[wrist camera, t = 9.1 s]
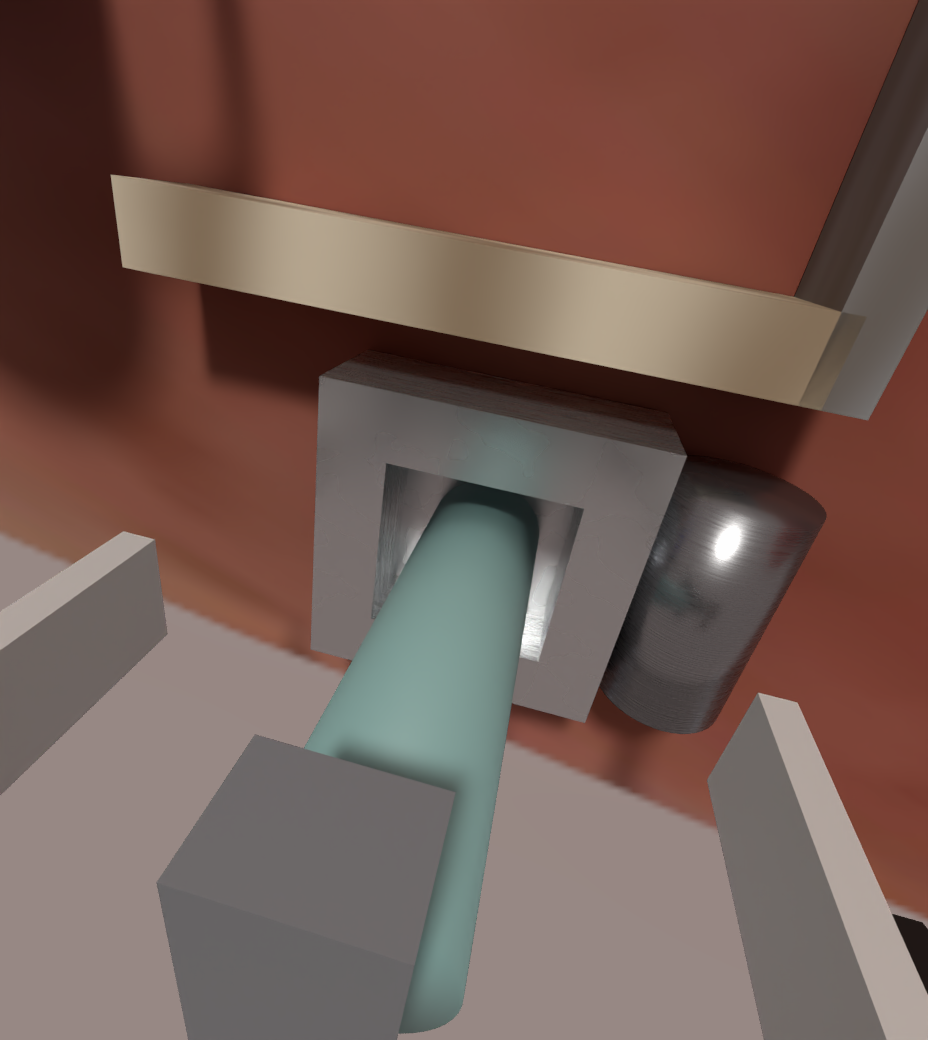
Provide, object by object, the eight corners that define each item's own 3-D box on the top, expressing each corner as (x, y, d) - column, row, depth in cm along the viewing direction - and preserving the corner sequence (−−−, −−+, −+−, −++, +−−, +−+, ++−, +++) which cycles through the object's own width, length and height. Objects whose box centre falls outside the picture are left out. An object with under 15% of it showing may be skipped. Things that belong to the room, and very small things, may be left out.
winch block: (350, 588, 21) (303, 659, 18) (368, 349, 17) (310, 380, 13) (695, 677, 20) (719, 772, 16) (811, 442, 15) (877, 504, 12)
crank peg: (418, 615, 20) (172, 1170, 8) (451, 397, 16) (71, 855, 4) (512, 639, 19) (397, 1255, 8) (569, 422, 16) (509, 996, 4)
